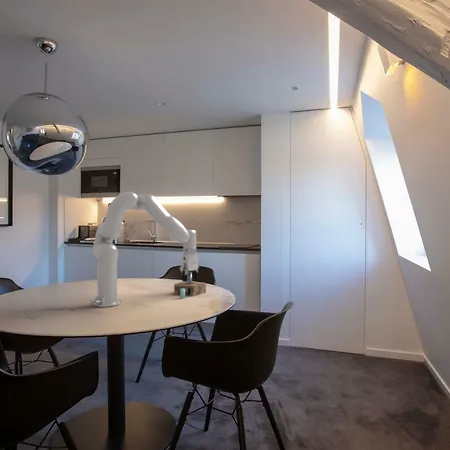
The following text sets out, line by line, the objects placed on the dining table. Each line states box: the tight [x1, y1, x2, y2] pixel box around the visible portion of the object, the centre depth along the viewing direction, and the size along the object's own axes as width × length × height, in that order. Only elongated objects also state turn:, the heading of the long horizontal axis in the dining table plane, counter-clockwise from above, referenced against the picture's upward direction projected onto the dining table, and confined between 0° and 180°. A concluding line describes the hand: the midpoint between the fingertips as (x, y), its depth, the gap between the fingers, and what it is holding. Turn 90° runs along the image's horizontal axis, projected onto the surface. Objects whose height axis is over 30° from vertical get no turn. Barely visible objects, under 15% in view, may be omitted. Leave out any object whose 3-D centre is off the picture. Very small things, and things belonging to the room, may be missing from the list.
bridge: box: [173, 280, 207, 297], centre depth 211 cm, size 12×14×6 cm
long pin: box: [187, 271, 193, 295], centre depth 210 cm, size 3×3×12 cm
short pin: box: [179, 289, 186, 300], centre depth 197 cm, size 3×3×5 cm
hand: (190, 280), depth 211 cm, fingers open, 9 cm apart
